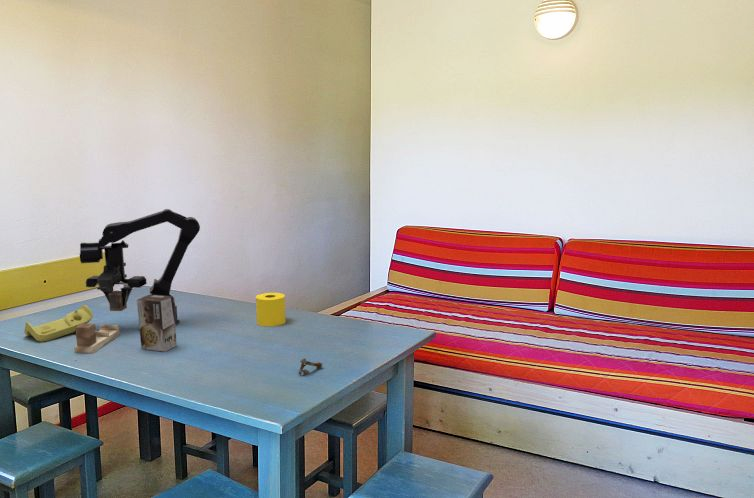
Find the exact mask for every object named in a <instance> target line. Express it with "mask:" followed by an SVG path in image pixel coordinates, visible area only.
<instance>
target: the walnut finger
mask: <svg viewBox="0 0 754 498" xmlns="http://www.w3.org/2000/svg"><path fill="white" fill-rule="evenodd" d="M108 304H109V305H108V306H109V311H110V312H122V311H125V309H127V308H128V302H127V303H126V306H125V307H123V301H122V291H121V290H113V292H111V293H109V302H108Z"/></svg>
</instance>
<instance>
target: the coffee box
mask: <svg viewBox="0 0 754 498" xmlns="http://www.w3.org/2000/svg"><path fill="white" fill-rule="evenodd" d="M173 297H174V296H173V295H171V296H163V295H151V294H147V295H144V296H143V297H141V298H137V299H136V304H137V316H138V324H139V325H138V326H139V327H138V328H139V338H140V349H141V350H149V351H156V352H157V351H158V352H167V351H168V350H171V349H173V348H175V347H177V346H178V344H177V331H176V324H175V316H174V302H173Z"/></svg>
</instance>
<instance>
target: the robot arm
mask: <svg viewBox="0 0 754 498" xmlns="http://www.w3.org/2000/svg"><path fill="white" fill-rule="evenodd" d="M164 223H169V224H171V225H173V226H175V227H177V228H179V229H180V230H179V234H178V239H177V243H176V244H175V246H174V248H173V250H172V253H171V255H170V257H169V260H168V262H167V263H166V266H165V269H164V270H163V273H162V274H161V276H160V277H159V279H157V278H154V280H153V284H152V285H151V287H149V295H163V296H172V294H170V293H171V287H172V284H173V281H174V278H175V276H176V274H177V271H178V269H179V267H180V265H181V263H182V260H183V258H184V256H185V254H186V252H187V250H188V247H189V246H190V244H191V243H192V241H193V240H194V239H195V238H196V236H197V235H198V233H199V232H200V231H201V230H200V229H201V225H200V222H199V221H198V220H197V218H196V217H193V216H185V215H182V214H180V213H177V212H175V211H172V209H170V208H165V209H163V210H161V211H156V212H155V213H151V214H148V215H145V216H142V217H139V218H136V219H133V220H132V219H131V220H128V221H118V222H113V223H109V224H107V225H105V226H104V228H103V230H102V236H101V237H100V238H99V239H98V242H81V243H80V244H79V246H80V248H79V251H80V252H79V260H80V263H81V264H94V263H100V261H101V260H103V259H104V261H105V265H103V271H102V272H101V273H99V275H92V276H90V277H88V278H86V280H85V287H86V288H97V290H99V291H101V292H102V293H103V294H104V296H105V298H106V299H107V302H108V303H109V293H111V292H113V291H114V286H115V285H123V287H120V291H122V301H123V307H125V306H126V303H127V304H128V300H129V298H130V295H131V293H132V290H133V289H138V288H139V289H140V288H141V287H144V286H146V285H147V284H148V283H147V278H146V276H143V275H142V276H141V275H140V276H139V275H135V276H134V275H133V276H132V277H130V278H128V276H127V275H128V274H126V273H125V272H126V271H125V266H126V263H127V262H125V259H124V249H128V248H129V243H127V242H125V240H124V238H127V237H128V236H130V235H131V234H134V233H136V232H139V231H141V230H145V229H149V228H152V227H155V226H158V225H160V224H164ZM120 240H121V241H120ZM119 241H120V242H119ZM110 243H111V245H109V244H110ZM173 302H174V316H175V325H177V324H178V323H179V322H180V319H178V307H177V305H176V302H175V297H174V296H173Z"/></svg>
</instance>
